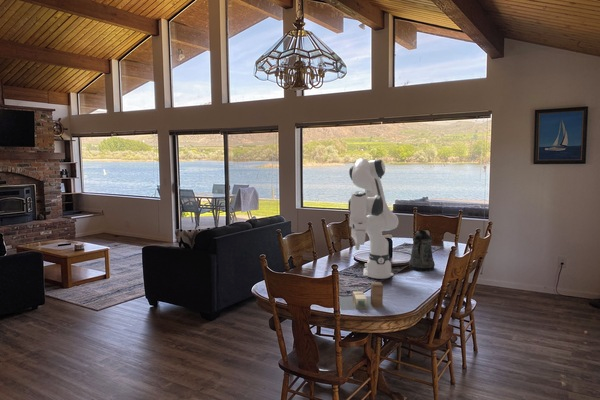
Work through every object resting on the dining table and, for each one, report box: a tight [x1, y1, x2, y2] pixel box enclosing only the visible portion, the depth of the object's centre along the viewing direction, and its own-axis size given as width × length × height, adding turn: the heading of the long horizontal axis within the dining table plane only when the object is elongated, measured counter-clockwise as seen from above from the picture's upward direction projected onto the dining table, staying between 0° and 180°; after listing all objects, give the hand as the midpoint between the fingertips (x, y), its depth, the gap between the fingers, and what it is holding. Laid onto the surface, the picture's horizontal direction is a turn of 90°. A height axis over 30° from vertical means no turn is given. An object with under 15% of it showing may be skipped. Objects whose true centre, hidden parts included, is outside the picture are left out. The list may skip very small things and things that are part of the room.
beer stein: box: [408, 230, 435, 272], centre depth 286 cm, size 16×19×25 cm
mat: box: [339, 295, 387, 311], centre depth 222 cm, size 19×22×1 cm
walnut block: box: [370, 281, 384, 307], centre depth 218 cm, size 5×5×11 cm
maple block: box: [352, 290, 367, 309], centre depth 219 cm, size 5×5×11 cm
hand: (357, 249), depth 227 cm, fingers closed
